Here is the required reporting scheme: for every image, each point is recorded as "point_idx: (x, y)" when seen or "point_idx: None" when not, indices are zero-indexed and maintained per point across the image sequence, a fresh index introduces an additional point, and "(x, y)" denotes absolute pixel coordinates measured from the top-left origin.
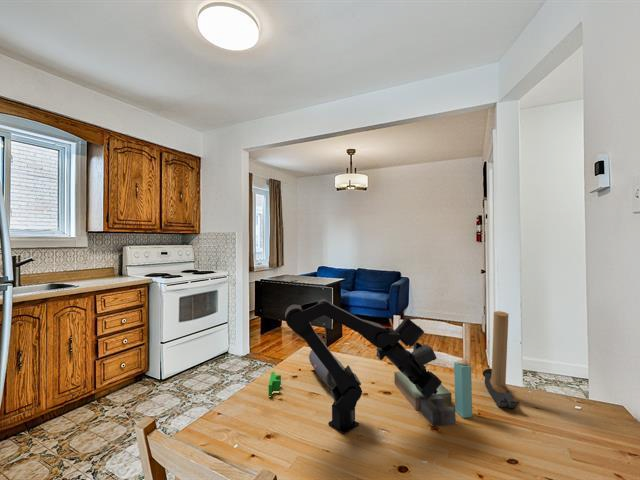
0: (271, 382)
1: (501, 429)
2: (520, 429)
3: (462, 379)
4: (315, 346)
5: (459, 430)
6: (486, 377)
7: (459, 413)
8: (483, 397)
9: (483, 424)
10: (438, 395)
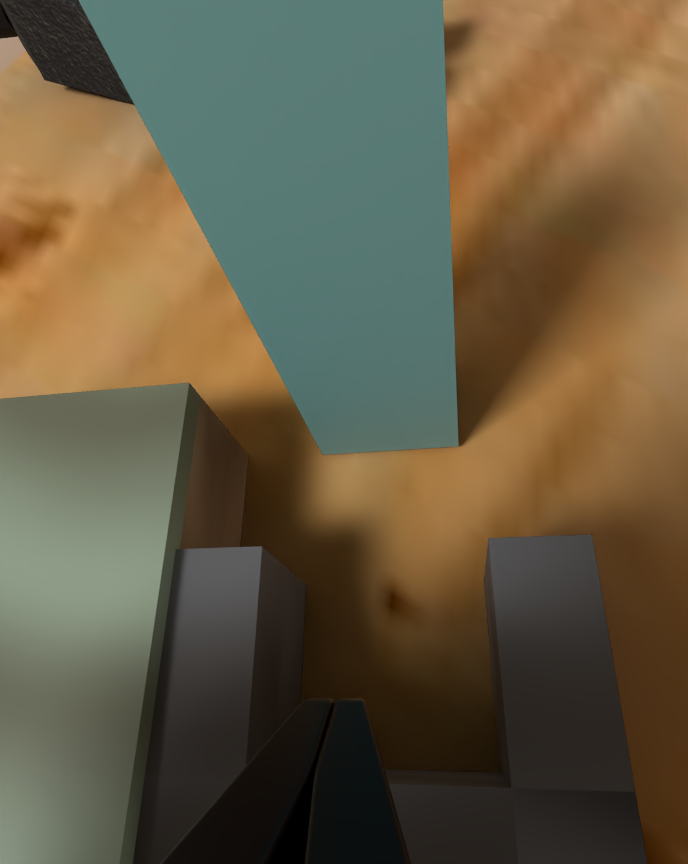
0: None
1: (642, 229)
2: (636, 118)
3: (441, 60)
4: None
5: (683, 597)
6: (40, 6)
7: (395, 445)
8: None
9: (565, 322)
10: (174, 566)
